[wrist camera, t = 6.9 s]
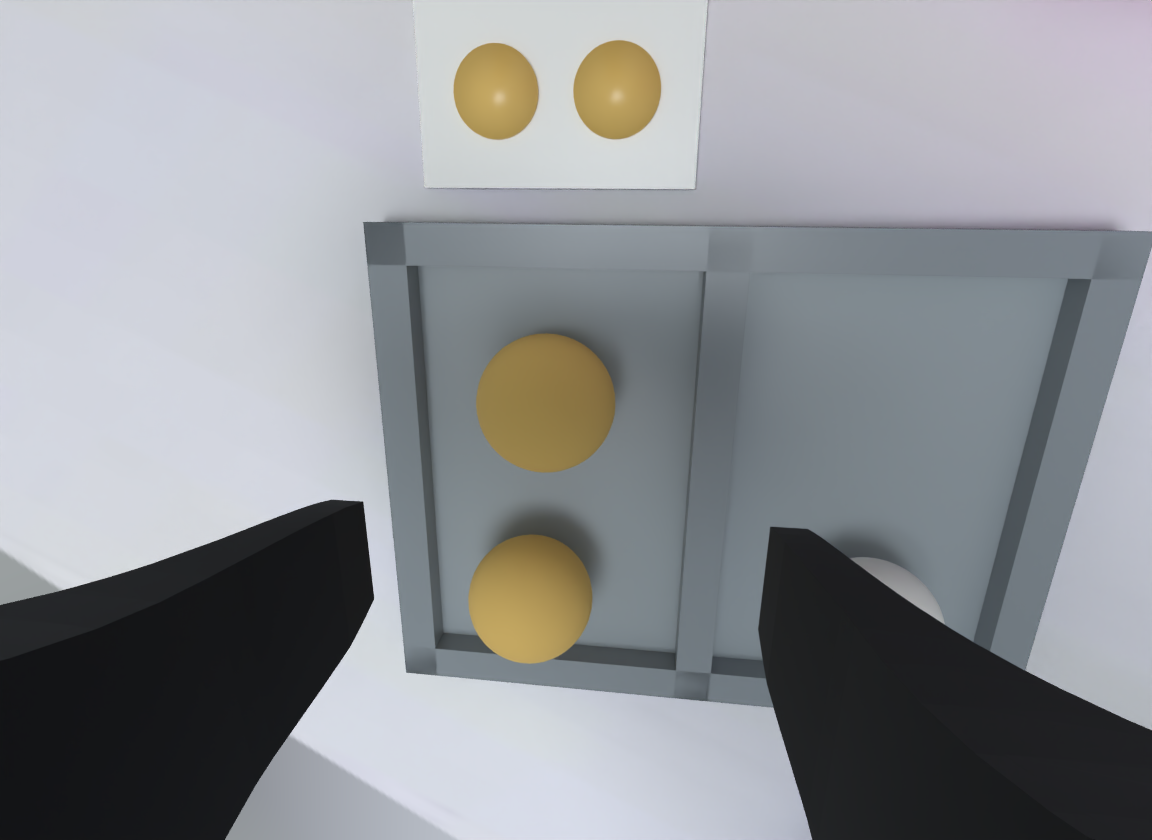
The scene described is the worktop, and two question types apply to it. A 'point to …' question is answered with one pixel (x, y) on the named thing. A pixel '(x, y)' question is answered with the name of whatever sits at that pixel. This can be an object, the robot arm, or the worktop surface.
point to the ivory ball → (902, 584)
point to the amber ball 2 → (530, 599)
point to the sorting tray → (745, 425)
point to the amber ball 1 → (545, 402)
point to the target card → (560, 93)
